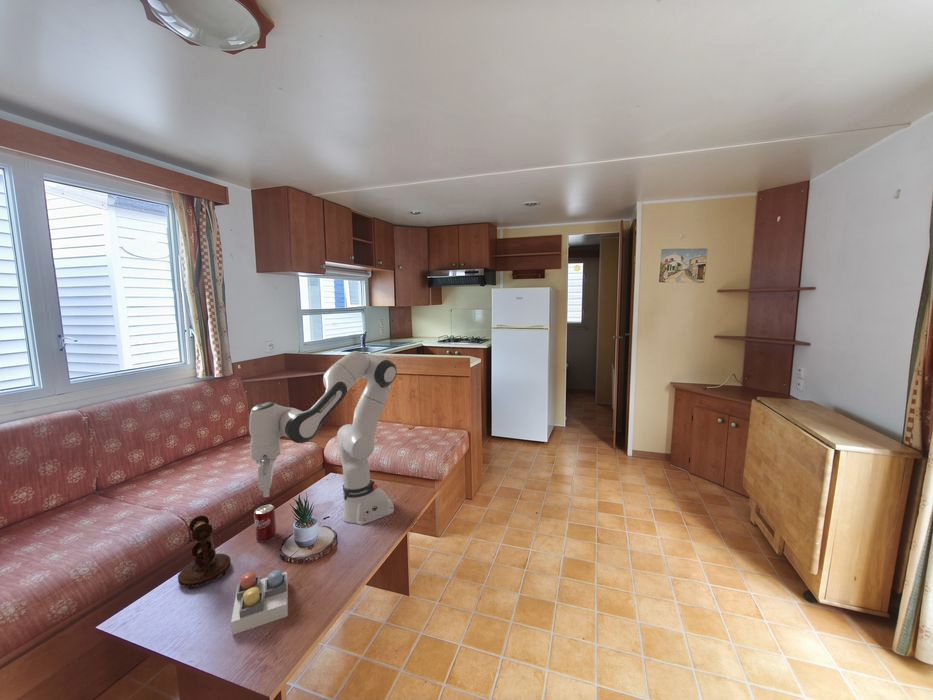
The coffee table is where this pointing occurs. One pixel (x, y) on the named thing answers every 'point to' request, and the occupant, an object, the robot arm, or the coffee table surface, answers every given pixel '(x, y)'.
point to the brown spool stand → (203, 557)
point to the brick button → (248, 580)
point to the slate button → (275, 579)
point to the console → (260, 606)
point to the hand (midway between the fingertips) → (267, 490)
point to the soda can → (265, 523)
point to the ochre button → (251, 597)
